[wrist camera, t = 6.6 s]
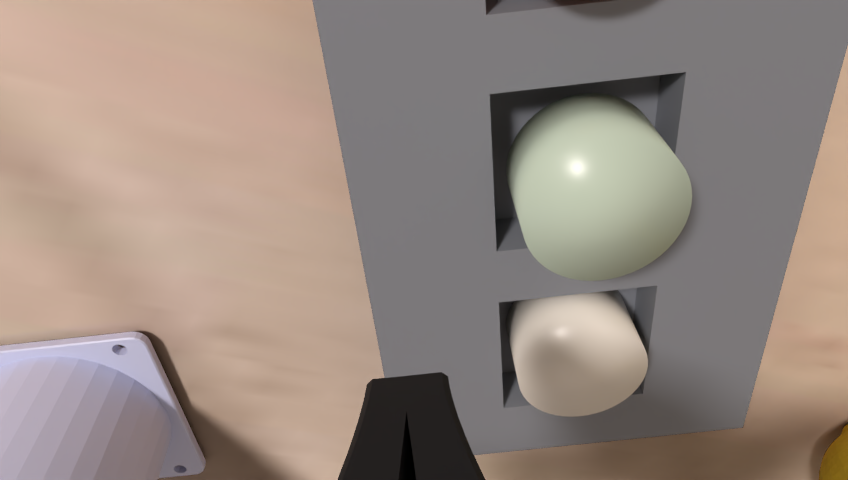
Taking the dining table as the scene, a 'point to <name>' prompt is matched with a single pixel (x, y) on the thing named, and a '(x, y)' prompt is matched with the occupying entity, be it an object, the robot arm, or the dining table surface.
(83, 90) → the dining table surface
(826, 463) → the lemon
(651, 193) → the button sage
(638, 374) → the button ivory
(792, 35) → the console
